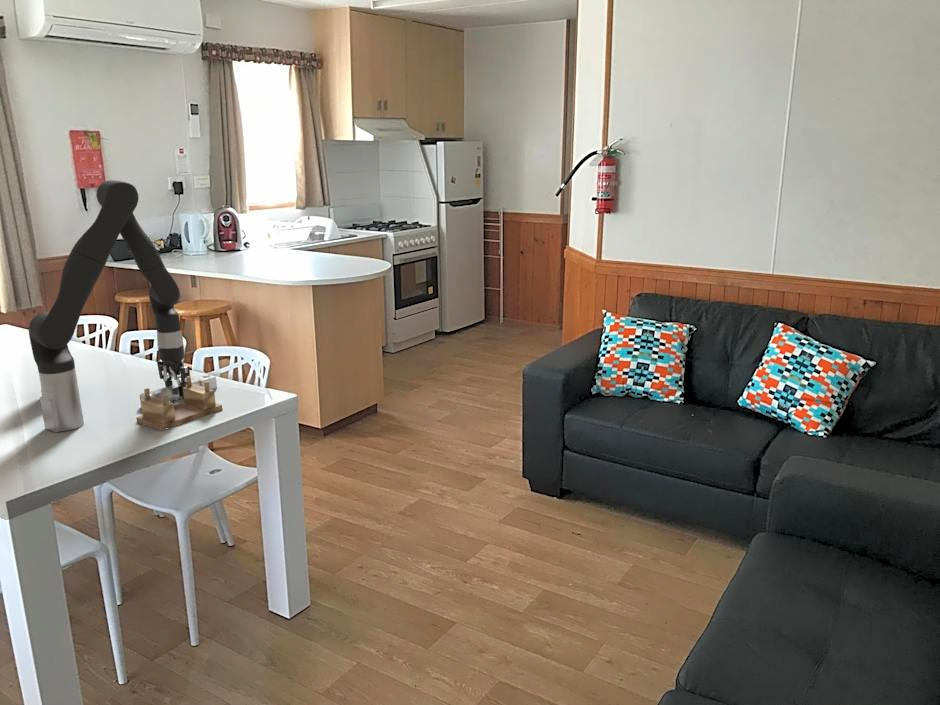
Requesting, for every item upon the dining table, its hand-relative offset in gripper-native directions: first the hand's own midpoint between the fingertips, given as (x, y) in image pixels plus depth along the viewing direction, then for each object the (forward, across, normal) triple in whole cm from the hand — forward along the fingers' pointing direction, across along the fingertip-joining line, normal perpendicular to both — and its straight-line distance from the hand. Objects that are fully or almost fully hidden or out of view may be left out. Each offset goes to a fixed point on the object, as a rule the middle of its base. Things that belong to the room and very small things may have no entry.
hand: (176, 394), depth 241 cm
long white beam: (+1, 0, 0) cm, 1 cm away
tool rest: (+1, +15, -9) cm, 18 cm away
